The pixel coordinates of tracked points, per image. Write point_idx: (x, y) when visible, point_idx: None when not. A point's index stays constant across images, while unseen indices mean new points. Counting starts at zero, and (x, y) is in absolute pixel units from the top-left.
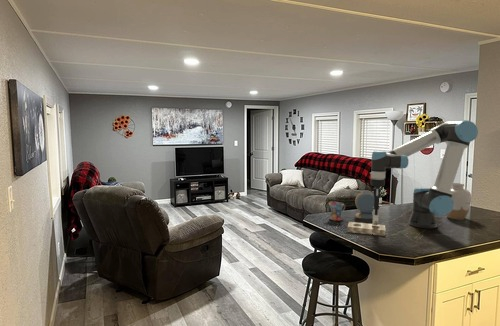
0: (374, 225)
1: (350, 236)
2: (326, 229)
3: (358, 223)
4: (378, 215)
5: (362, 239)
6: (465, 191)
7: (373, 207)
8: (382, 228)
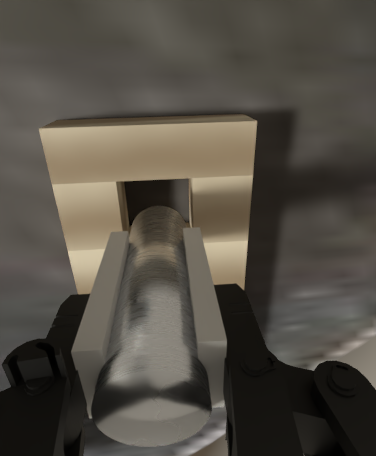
0: (112, 227)
1: (317, 323)
2: (219, 425)
3: None
4: (208, 266)
5: (367, 262)
6: None
7: (175, 433)
8: (190, 152)
